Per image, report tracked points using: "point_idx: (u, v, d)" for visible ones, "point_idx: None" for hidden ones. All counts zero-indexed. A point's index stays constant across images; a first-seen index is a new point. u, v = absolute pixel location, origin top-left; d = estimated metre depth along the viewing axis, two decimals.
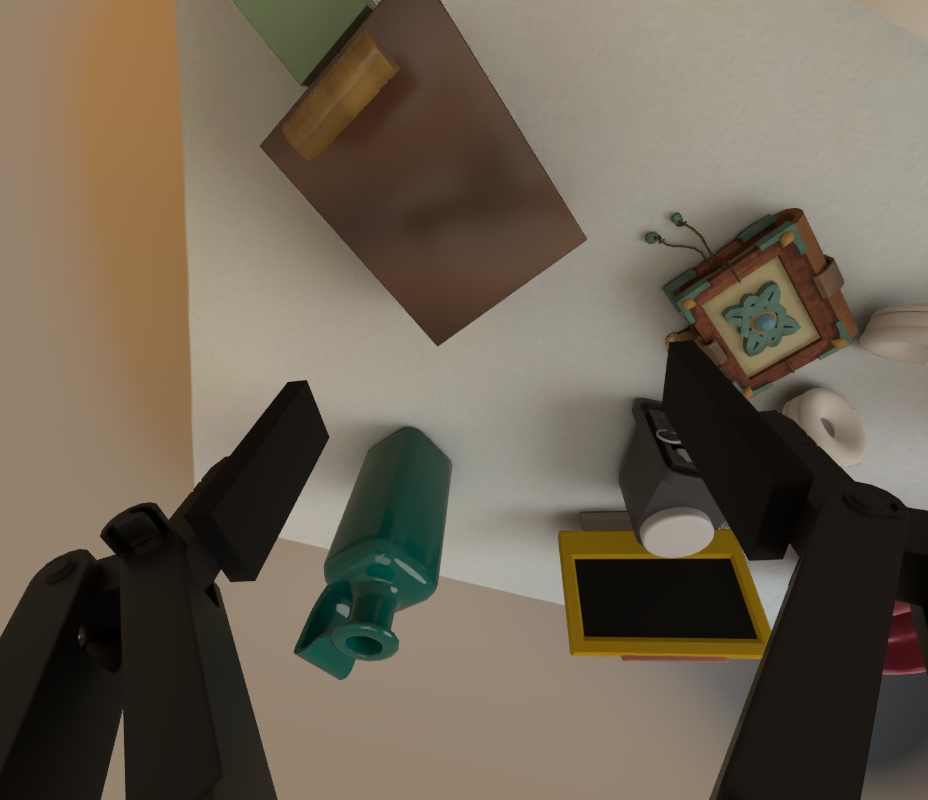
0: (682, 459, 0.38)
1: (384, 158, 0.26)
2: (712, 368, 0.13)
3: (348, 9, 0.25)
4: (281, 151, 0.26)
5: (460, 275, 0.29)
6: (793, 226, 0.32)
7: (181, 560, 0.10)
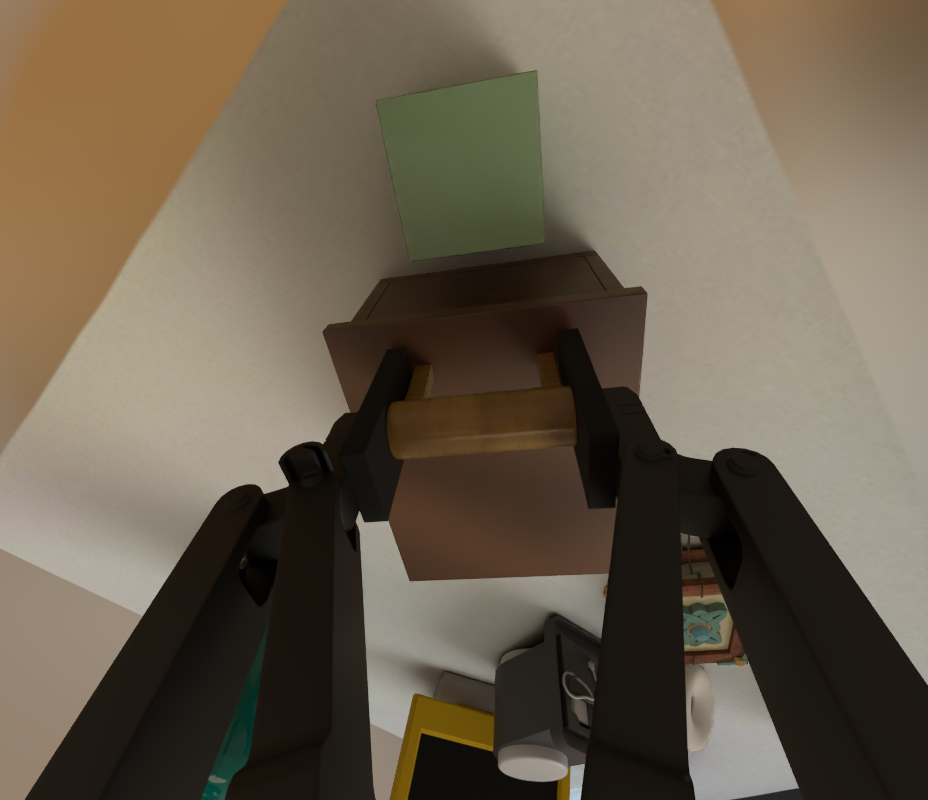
0: (576, 721, 0.37)
1: None
2: (582, 351, 0.15)
3: (521, 233, 0.18)
4: (349, 352, 0.18)
5: (480, 543, 0.24)
6: None
7: (334, 503, 0.11)
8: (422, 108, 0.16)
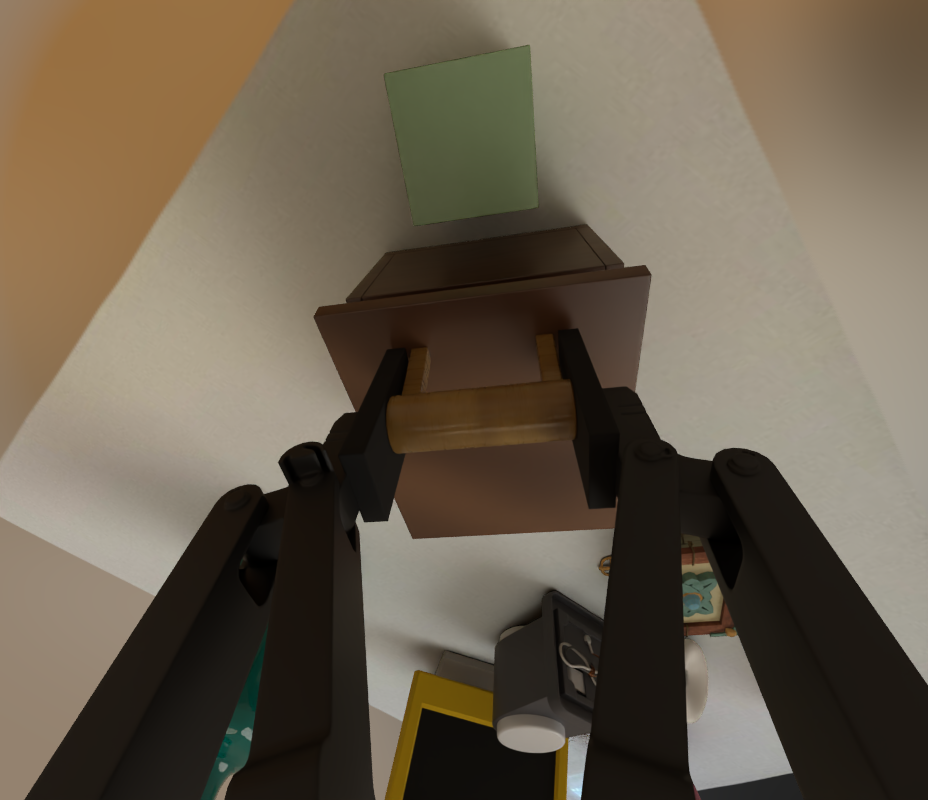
0: (573, 688, 0.38)
1: None
2: (582, 351, 0.15)
3: (516, 198, 0.20)
4: (342, 336, 0.17)
5: (479, 506, 0.25)
6: None
7: (334, 503, 0.11)
8: (426, 81, 0.18)
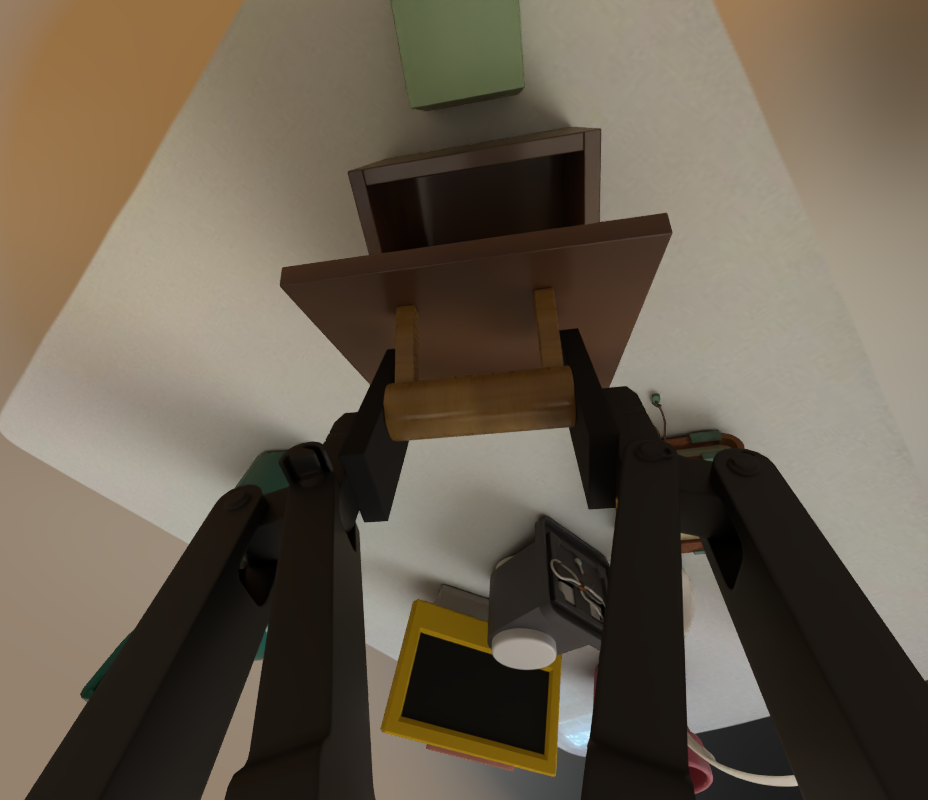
0: (563, 597, 0.40)
1: (464, 341, 0.18)
2: (582, 351, 0.15)
3: (503, 78, 0.22)
4: (317, 300, 0.15)
5: None
6: None
7: (334, 503, 0.11)
8: None
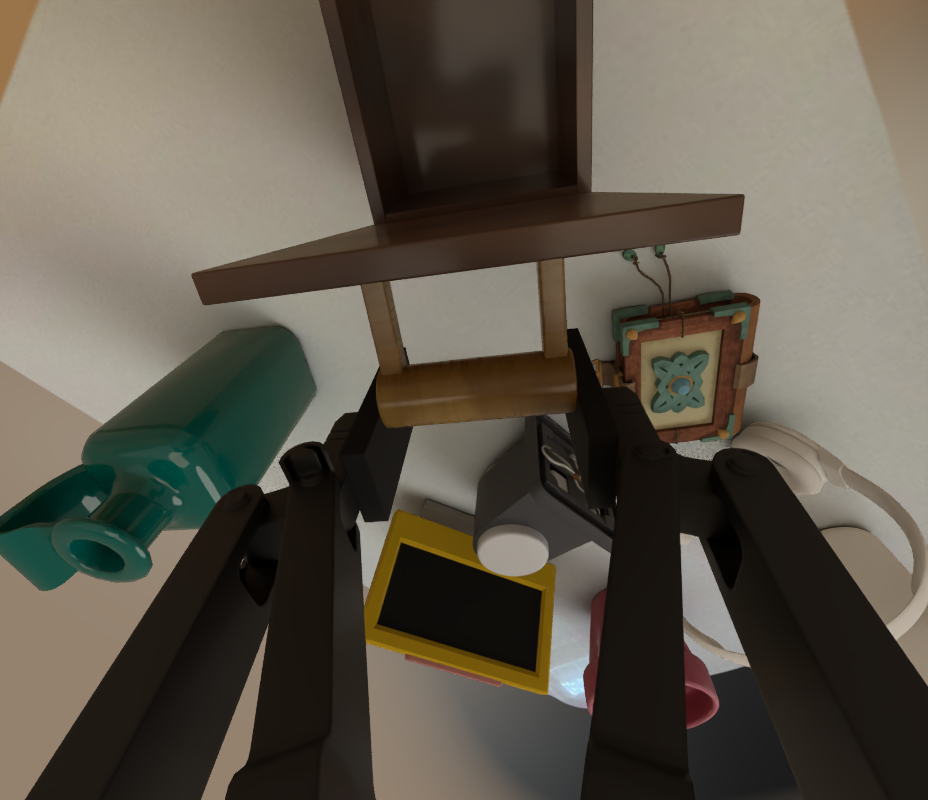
0: (555, 481, 0.36)
1: None
2: (581, 351, 0.15)
3: None
4: None
5: None
6: (749, 308, 0.32)
7: (334, 503, 0.11)
8: None
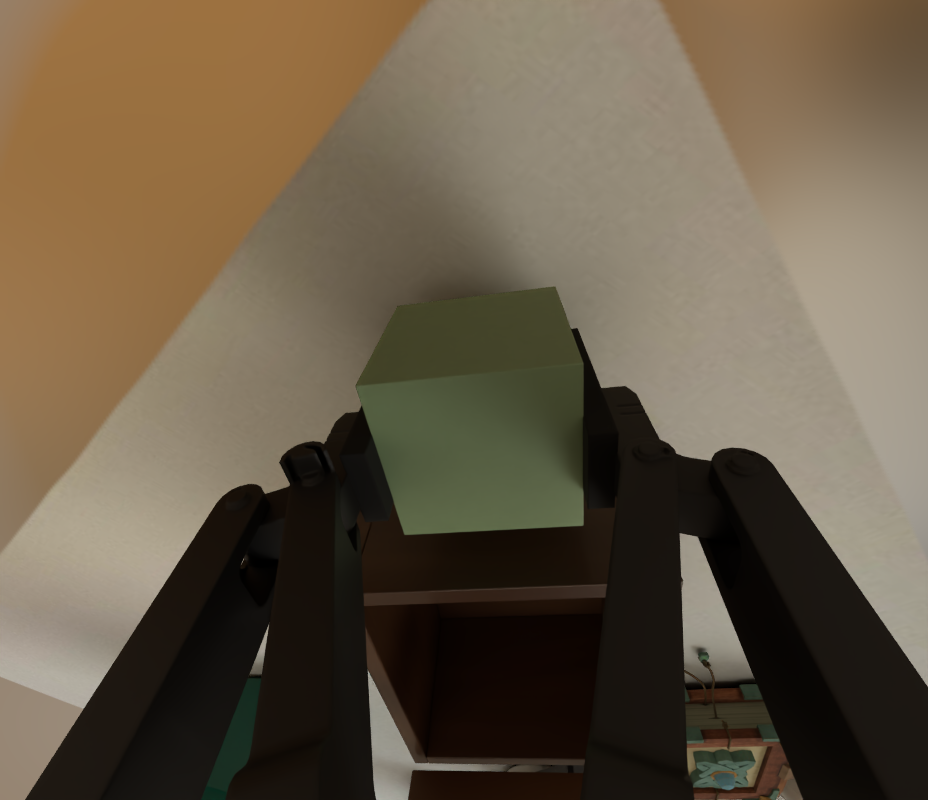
0: None
1: None
2: (581, 351, 0.15)
3: (551, 516, 0.14)
4: None
5: None
6: None
7: (335, 503, 0.11)
8: (420, 395, 0.12)
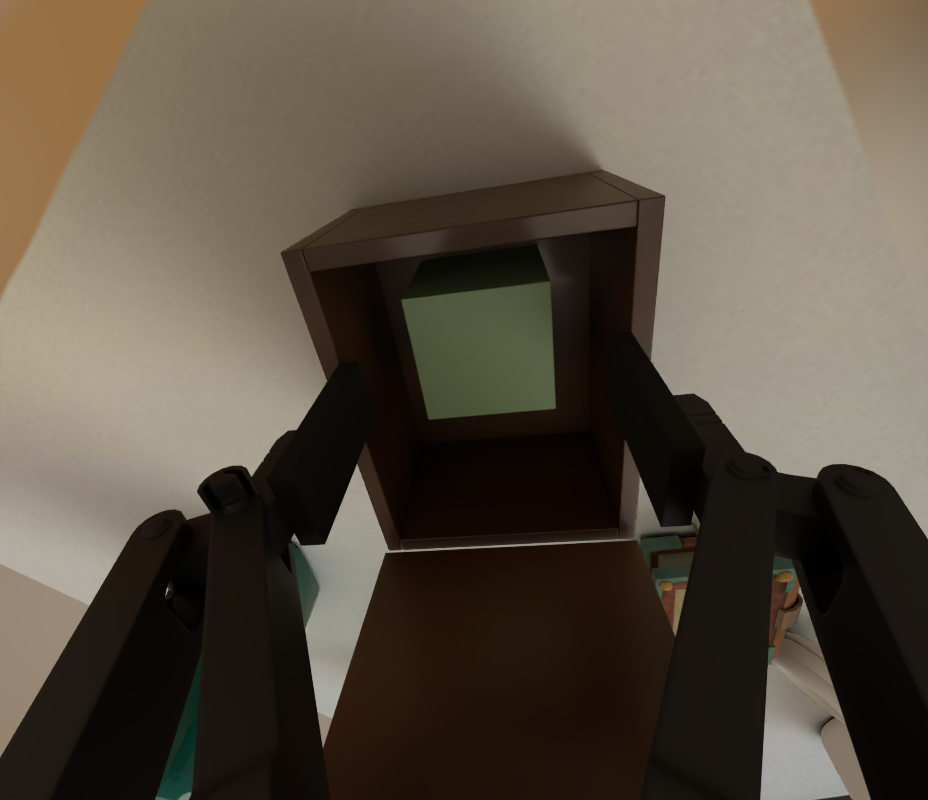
0: None
1: None
2: (641, 356, 0.14)
3: (533, 401, 0.20)
4: None
5: None
6: None
7: (262, 524, 0.10)
8: (444, 306, 0.18)
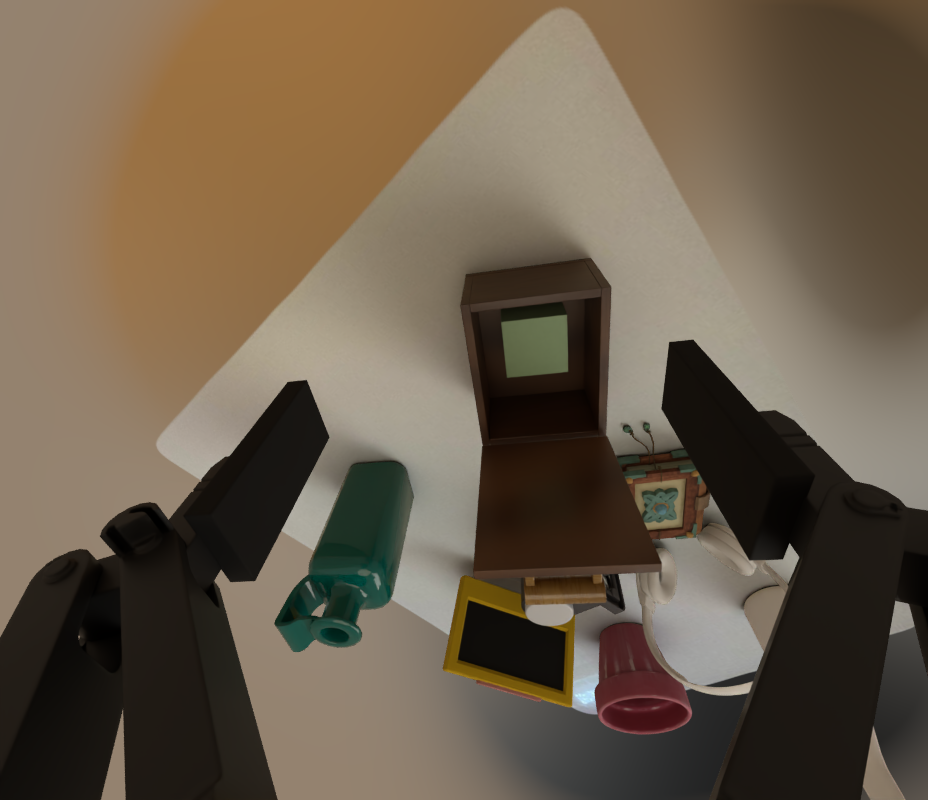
0: None
1: None
2: (712, 368, 0.13)
3: (557, 368, 0.42)
4: None
5: None
6: None
7: (181, 560, 0.10)
8: (520, 325, 0.40)
